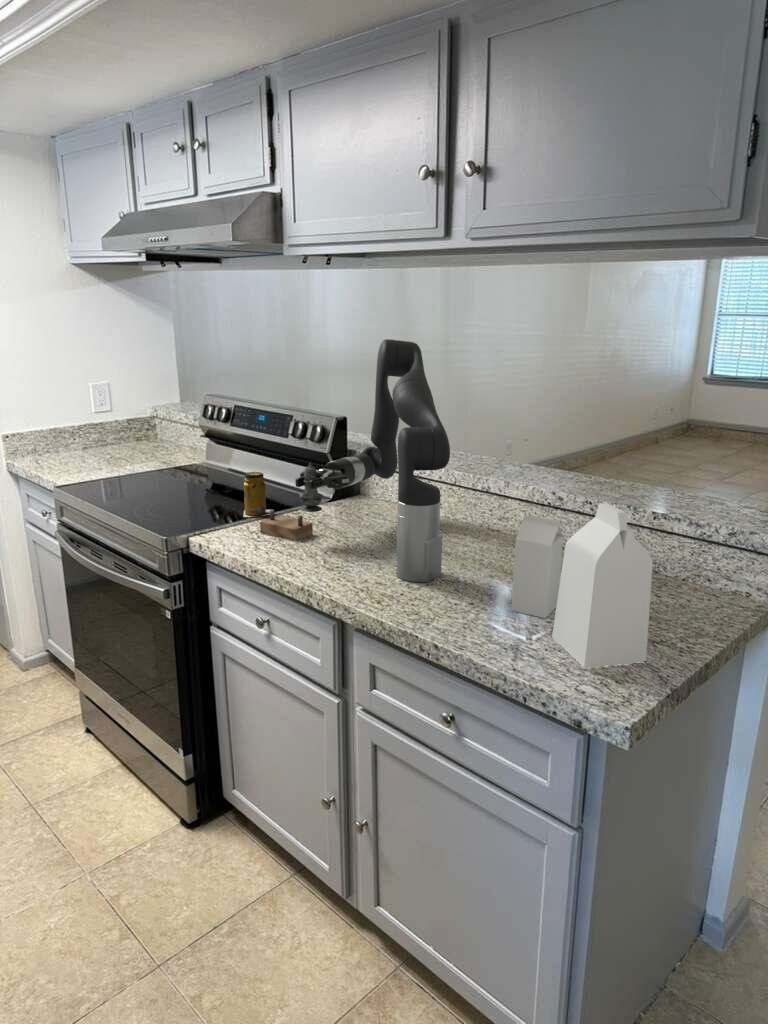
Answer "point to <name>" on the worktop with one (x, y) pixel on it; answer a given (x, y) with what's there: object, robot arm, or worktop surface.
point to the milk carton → (537, 566)
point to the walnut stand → (286, 527)
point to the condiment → (254, 495)
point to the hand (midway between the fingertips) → (303, 483)
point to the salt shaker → (310, 492)
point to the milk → (604, 593)
